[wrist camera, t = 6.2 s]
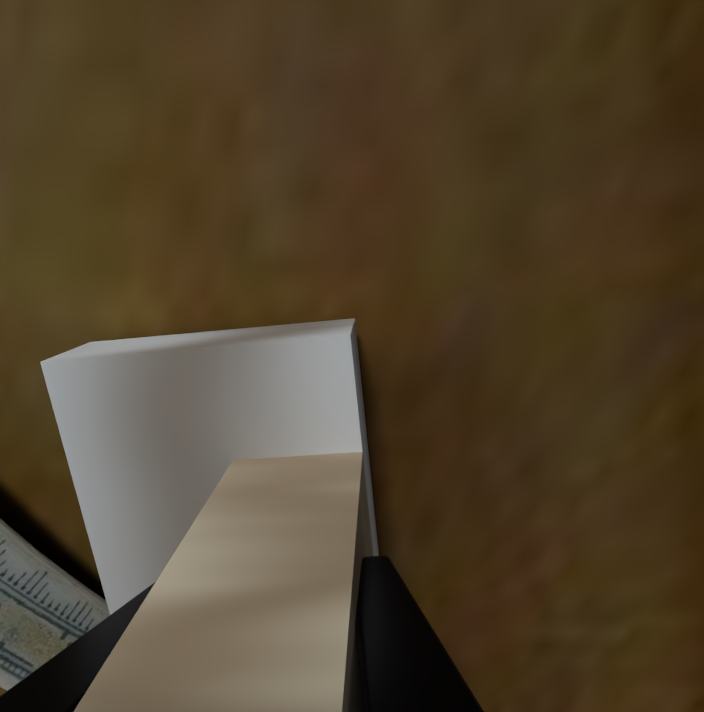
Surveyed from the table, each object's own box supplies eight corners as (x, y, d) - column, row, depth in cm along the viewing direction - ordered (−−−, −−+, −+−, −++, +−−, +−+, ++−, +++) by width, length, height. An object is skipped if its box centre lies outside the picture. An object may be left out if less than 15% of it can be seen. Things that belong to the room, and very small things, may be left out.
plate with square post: (354, 318, 10) (230, 773, 2) (383, 599, 12) (391, 1497, 3) (90, 342, 10) (-1038, 786, 2) (156, 608, 12) (-323, 1420, 4)
